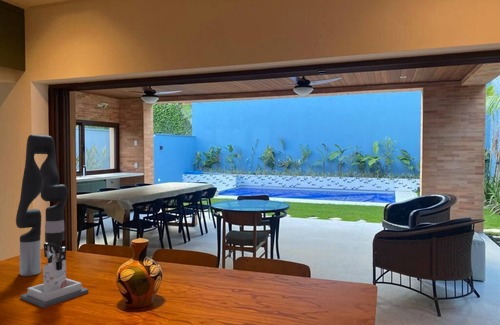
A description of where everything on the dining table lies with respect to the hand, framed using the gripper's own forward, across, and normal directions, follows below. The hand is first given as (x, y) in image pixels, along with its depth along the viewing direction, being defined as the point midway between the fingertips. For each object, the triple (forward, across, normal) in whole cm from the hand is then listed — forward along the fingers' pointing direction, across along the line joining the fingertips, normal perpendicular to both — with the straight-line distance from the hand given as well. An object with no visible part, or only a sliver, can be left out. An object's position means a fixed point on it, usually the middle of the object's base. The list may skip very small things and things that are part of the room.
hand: (54, 268), depth 163 cm
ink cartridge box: (+9, 0, 0) cm, 9 cm away
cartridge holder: (+12, 0, 0) cm, 12 cm away
